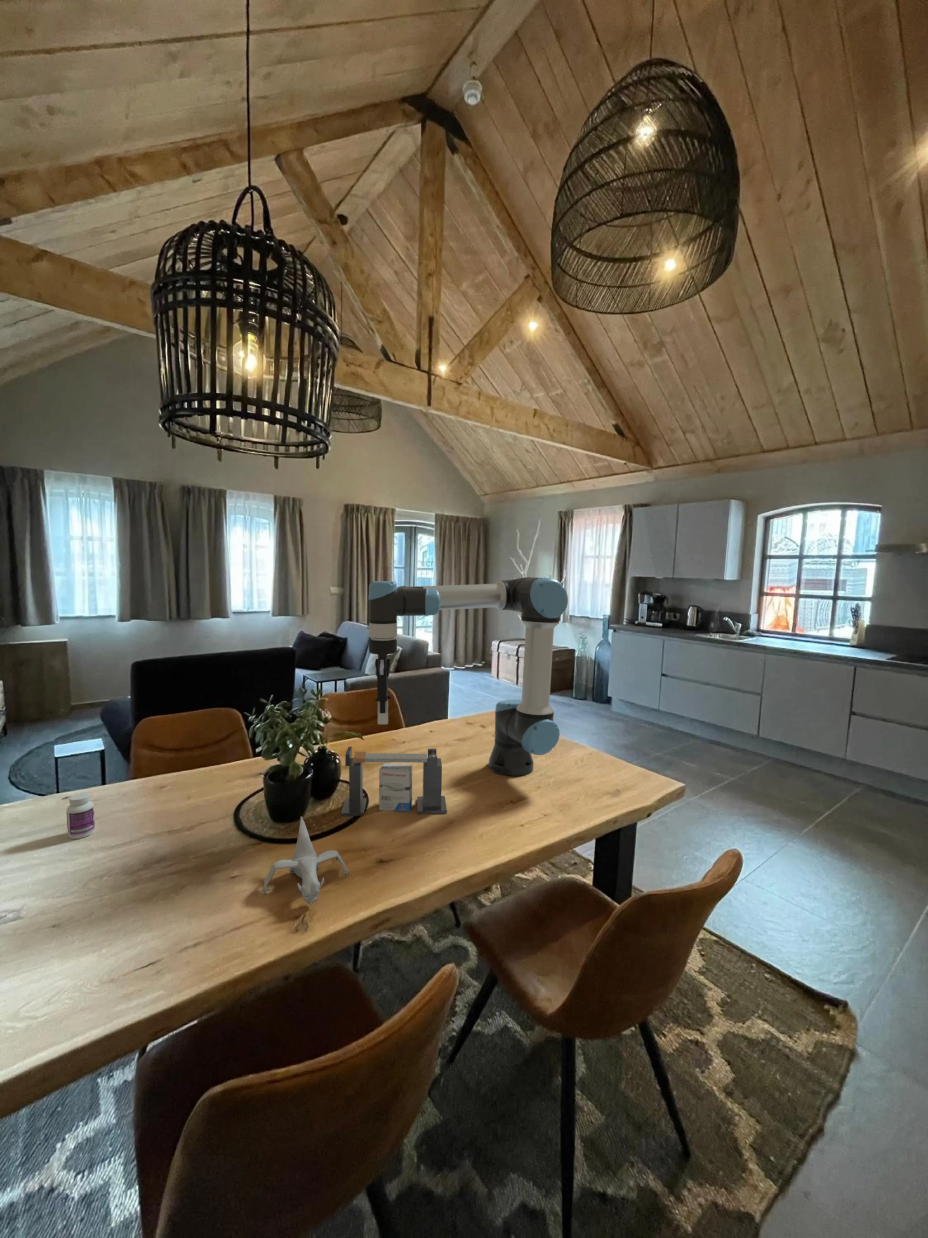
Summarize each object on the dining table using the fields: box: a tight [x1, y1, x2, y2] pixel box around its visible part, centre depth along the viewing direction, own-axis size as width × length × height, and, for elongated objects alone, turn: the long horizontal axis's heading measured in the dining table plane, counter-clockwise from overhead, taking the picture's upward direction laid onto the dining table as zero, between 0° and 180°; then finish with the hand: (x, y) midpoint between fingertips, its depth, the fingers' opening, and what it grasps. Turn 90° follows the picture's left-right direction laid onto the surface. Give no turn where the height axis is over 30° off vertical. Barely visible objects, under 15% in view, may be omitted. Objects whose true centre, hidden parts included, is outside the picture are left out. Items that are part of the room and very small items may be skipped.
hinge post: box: [416, 748, 448, 815], centre depth 141 cm, size 8×9×16 cm
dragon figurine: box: [261, 816, 350, 905], centre depth 106 cm, size 15×15×9 cm
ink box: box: [378, 762, 413, 813], centre depth 140 cm, size 8×5×12 cm, turn 84°
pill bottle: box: [66, 792, 96, 840], centre depth 123 cm, size 5×5×10 cm
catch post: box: [340, 746, 368, 817], centre depth 139 cm, size 6×9×16 cm, turn 6°
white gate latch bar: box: [352, 751, 435, 764], centre depth 139 cm, size 22×5×2 cm, turn 96°
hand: (382, 723), depth 138 cm, fingers closed
